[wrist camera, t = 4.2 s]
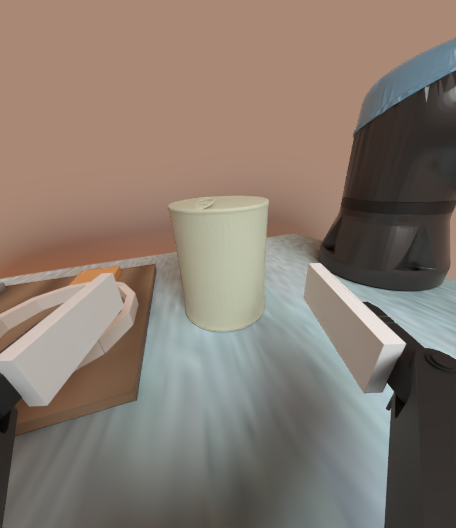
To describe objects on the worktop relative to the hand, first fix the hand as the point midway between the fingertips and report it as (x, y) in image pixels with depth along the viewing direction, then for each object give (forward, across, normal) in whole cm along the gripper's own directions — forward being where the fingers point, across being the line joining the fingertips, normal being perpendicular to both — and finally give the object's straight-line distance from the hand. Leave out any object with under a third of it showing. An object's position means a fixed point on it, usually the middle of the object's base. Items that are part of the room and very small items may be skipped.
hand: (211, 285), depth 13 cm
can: (+7, 0, -7) cm, 10 cm away
